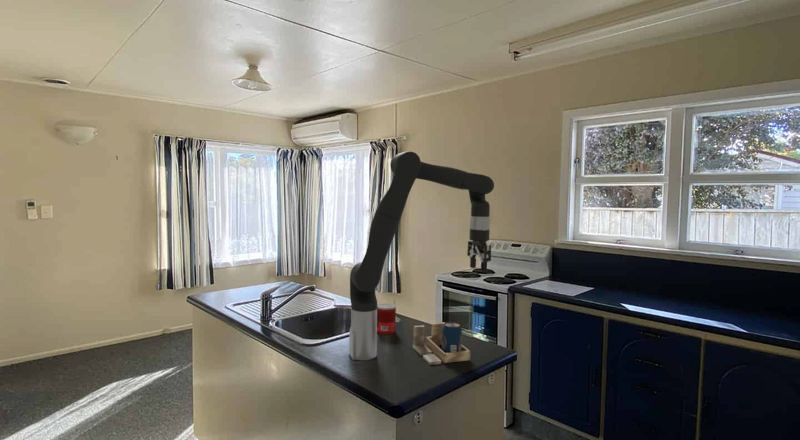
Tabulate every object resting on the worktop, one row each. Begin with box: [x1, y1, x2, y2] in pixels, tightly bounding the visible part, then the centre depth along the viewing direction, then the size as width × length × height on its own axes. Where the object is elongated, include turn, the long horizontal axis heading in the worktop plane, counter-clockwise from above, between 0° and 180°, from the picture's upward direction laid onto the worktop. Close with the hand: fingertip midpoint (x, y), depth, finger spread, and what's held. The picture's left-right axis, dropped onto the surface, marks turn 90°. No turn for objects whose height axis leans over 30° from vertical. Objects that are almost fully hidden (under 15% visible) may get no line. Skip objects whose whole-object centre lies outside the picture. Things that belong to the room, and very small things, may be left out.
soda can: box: [441, 321, 463, 353], centre depth 149 cm, size 7×7×12 cm
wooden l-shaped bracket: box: [412, 324, 442, 366], centre depth 151 cm, size 4×17×8 cm, turn 18°
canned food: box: [377, 302, 397, 335], centre depth 175 cm, size 8×8×11 cm
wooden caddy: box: [424, 321, 471, 364], centre depth 153 cm, size 10×17×8 cm, turn 18°
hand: (478, 269), depth 161 cm, fingers open, 8 cm apart
